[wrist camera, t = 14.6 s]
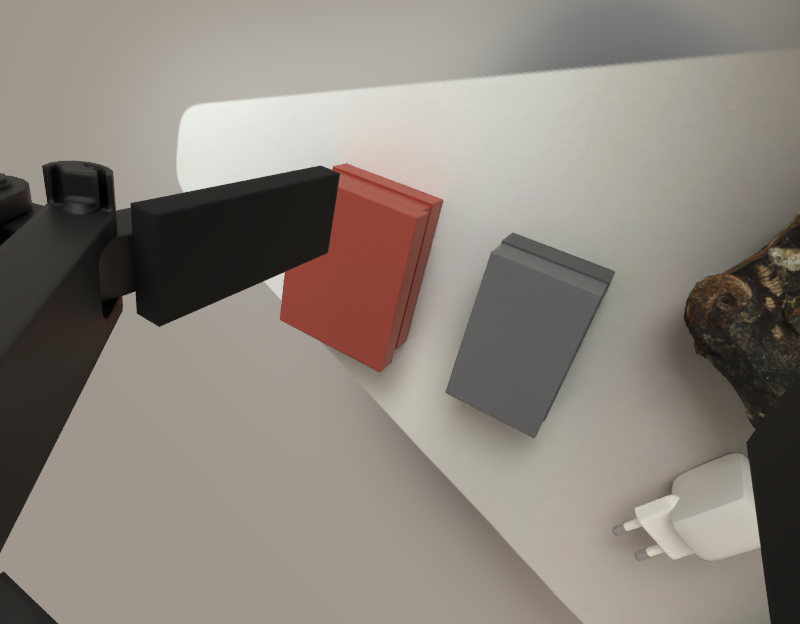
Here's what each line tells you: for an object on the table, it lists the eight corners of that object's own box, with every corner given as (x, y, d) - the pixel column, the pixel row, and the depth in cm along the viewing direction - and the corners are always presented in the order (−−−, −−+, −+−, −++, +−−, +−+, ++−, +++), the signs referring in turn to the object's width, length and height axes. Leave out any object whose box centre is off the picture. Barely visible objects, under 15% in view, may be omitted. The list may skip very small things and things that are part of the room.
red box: (346, 163, 44) (318, 169, 41) (443, 199, 41) (421, 209, 38) (324, 300, 51) (299, 314, 48) (406, 340, 48) (385, 358, 45)
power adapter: (649, 537, 43) (643, 593, 38) (609, 493, 43) (598, 543, 38) (784, 490, 36) (796, 550, 32) (736, 439, 37) (741, 491, 32)
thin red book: (311, 167, 41) (295, 170, 39) (429, 212, 37) (417, 218, 36) (293, 312, 48) (279, 320, 46) (391, 362, 44) (380, 372, 43)
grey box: (512, 232, 39) (491, 248, 35) (615, 271, 36) (604, 293, 32) (466, 365, 46) (444, 392, 41) (551, 406, 43) (535, 439, 39)
